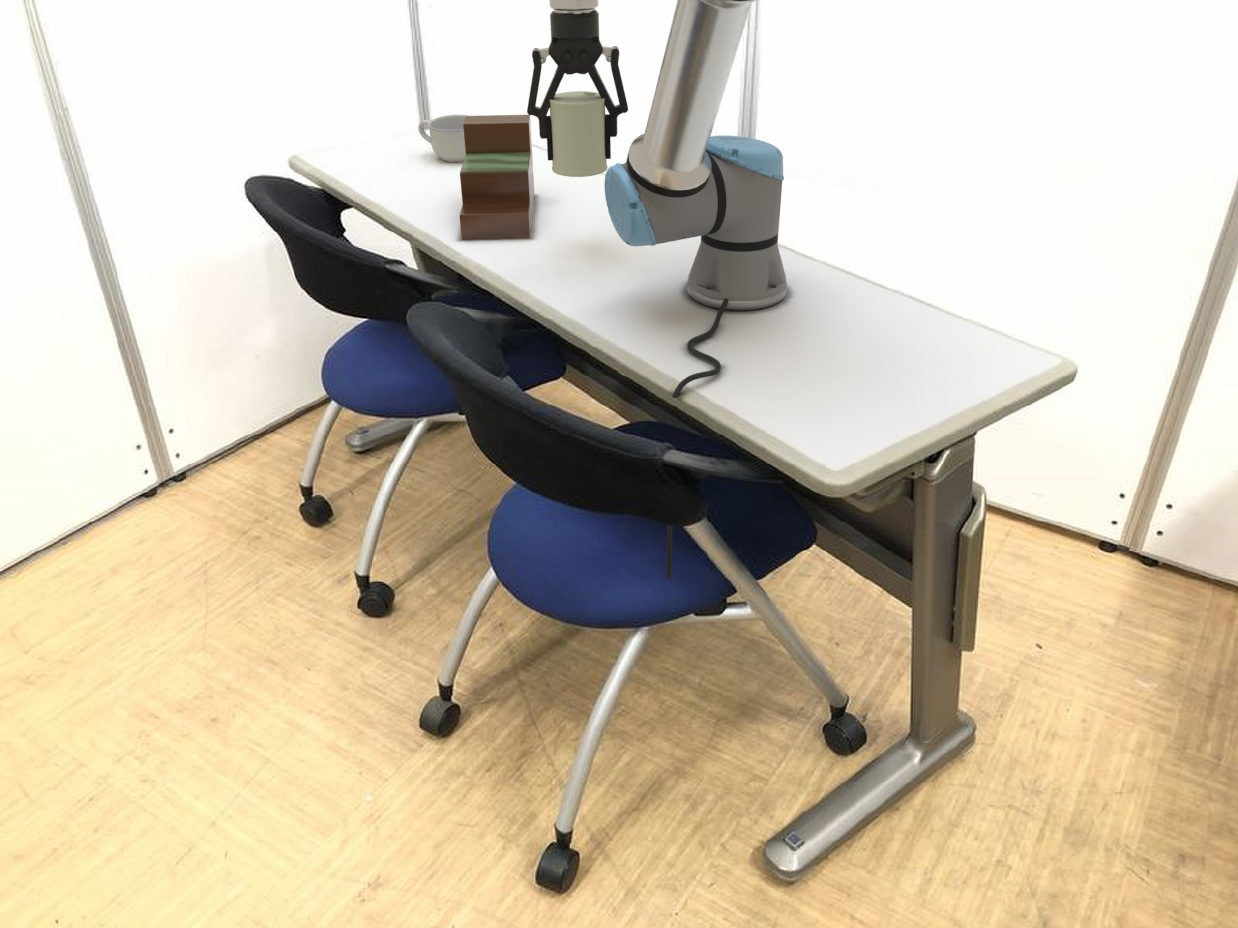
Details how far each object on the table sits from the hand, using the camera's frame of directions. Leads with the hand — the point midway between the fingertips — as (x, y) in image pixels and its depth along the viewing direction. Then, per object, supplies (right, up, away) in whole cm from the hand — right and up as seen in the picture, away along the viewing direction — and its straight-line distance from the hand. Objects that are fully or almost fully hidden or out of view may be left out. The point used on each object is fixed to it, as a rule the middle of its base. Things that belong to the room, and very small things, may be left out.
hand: (579, 157), depth 172 cm
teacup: (-30, +16, +55) cm, 65 cm away
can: (0, -2, +1) cm, 2 cm away
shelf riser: (-16, -5, +22) cm, 27 cm away
